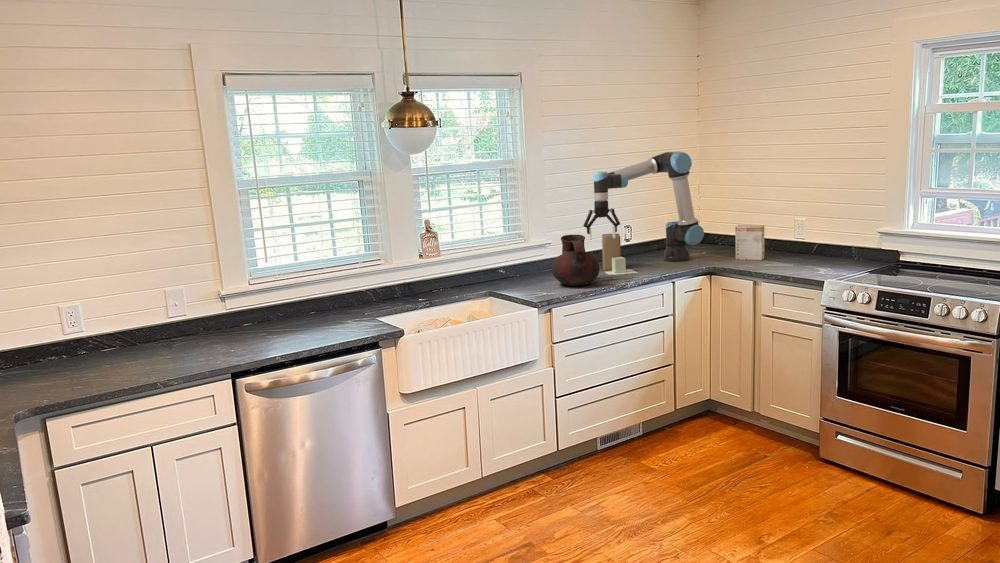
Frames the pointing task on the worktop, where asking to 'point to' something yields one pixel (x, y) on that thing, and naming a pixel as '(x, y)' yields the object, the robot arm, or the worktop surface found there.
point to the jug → (574, 263)
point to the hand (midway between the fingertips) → (602, 239)
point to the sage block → (618, 265)
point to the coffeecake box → (749, 242)
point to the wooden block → (610, 249)
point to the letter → (621, 273)
